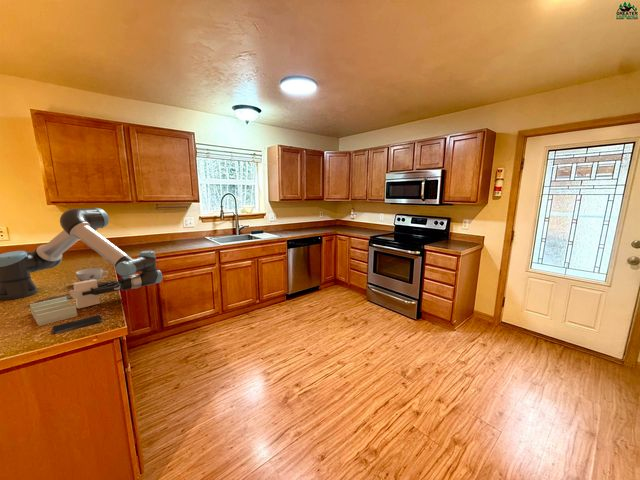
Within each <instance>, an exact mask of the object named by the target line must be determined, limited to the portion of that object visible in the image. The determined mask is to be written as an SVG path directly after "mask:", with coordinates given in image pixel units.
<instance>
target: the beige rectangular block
mask: <svg viewBox="0 0 640 480" xmlns="http://www.w3.org/2000/svg"><path fill="white" fill-rule="evenodd" d="M72 284H73V285H72V286H73V290H74V292H78V291H83V290H87V289H90V290H91V288H93V289H95V288H98V286H97V284H98V281H97V280H95V279H92V280H87V281H82V282H81V281H77V282H72ZM99 295H100V294H99ZM99 295H92V294H91V295H87V296H82V297H78V298H74V299H75V306H76V309H84V308H88V307H90V306H94V305H98V304H101V302H100V296H99Z"/></svg>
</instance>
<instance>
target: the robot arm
mask: <svg viewBox="0 0 640 480" xmlns="http://www.w3.org/2000/svg"><path fill="white" fill-rule="evenodd" d="M109 223H110V218H109V215H108V213H107V212H106V211H105V210H104V209H102V208H101V207H100V208H99V207H88V208H87V207H85V208H84V207H83V208H70V209H68V210H66V211H64V212H63V213H62V214H61V216H60V218H59V224H60V227H61V228H62V229H63V230H61V231H60V233H59V232H58V234H57V235H55V237H53V238H52V239H51V240H50V241H48V242H47V243H46V244H41V245H38V247H35V249H33V250H32V251H31V250H30V251H26V250H14V251H8V252H7V251H6V252H2V253H0V301H10V300H15V299H23V298H25V297H29V296H33V295H35V294H37V293H39V291H38V286H37V285H36V284H35V282H34V281H33V280H32V277H31V274H32V273H36V272H39V271H44V270H47V269H49V270H50V269H53V268H55V267H57V266H59V265H60V264H61V263H62V259H63V254H64V253H65V252H66V251H68V249H70V248H71V247H73V246H74V245H75V244H76V243H77V242H78V241H81V242H82V243H83V244H85V245H86V246H87V247H89V248H90V249H91V250H93V251H95V252H96V253H97V254H99V255H100V256H101V257H103V259H105V260H107V261H108V262H110V263H111V264H112V265H114V266H115V272H116V273H117V274H118V275H119V276H120V277H119V278H118V280H117V281H116V280H113V281H112V280H108V281H105V282H99V283H97V286H98V288H95V289H93V288H91V290H90V289H87V290H83V291H78V292H74V289H72V290H69V294H70V296H72V299H75V298H78V297H82V296H87V295H91V294H92V295H102V294H108V293H112V292H118V291H122V292H123V291H128V290H131V289H133V290H134V289H136V290H137V289H138V288H141V287H142V288H143V287H145V286H150V285H154V284H159V283H161V282H162V280H163V274H162V271H161V270H160V269H157V257H156V252H155V251H153V250H143V251H141V252H139V254H138V257H135V258H134V257H133V258H132V257H131V256H130V255H128V253H126V252H125V251H123V250H122V249H121V248H119V247H118V246H117V245H115V244H114V243H112V242H111V241H110V240H109V239H107V238H106V237H105V236H103V235H102V234H100V233H99V232H98V231H97V230H98V229H103V228H106V227H108V225H109ZM138 272H140V273H138Z"/></svg>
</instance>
